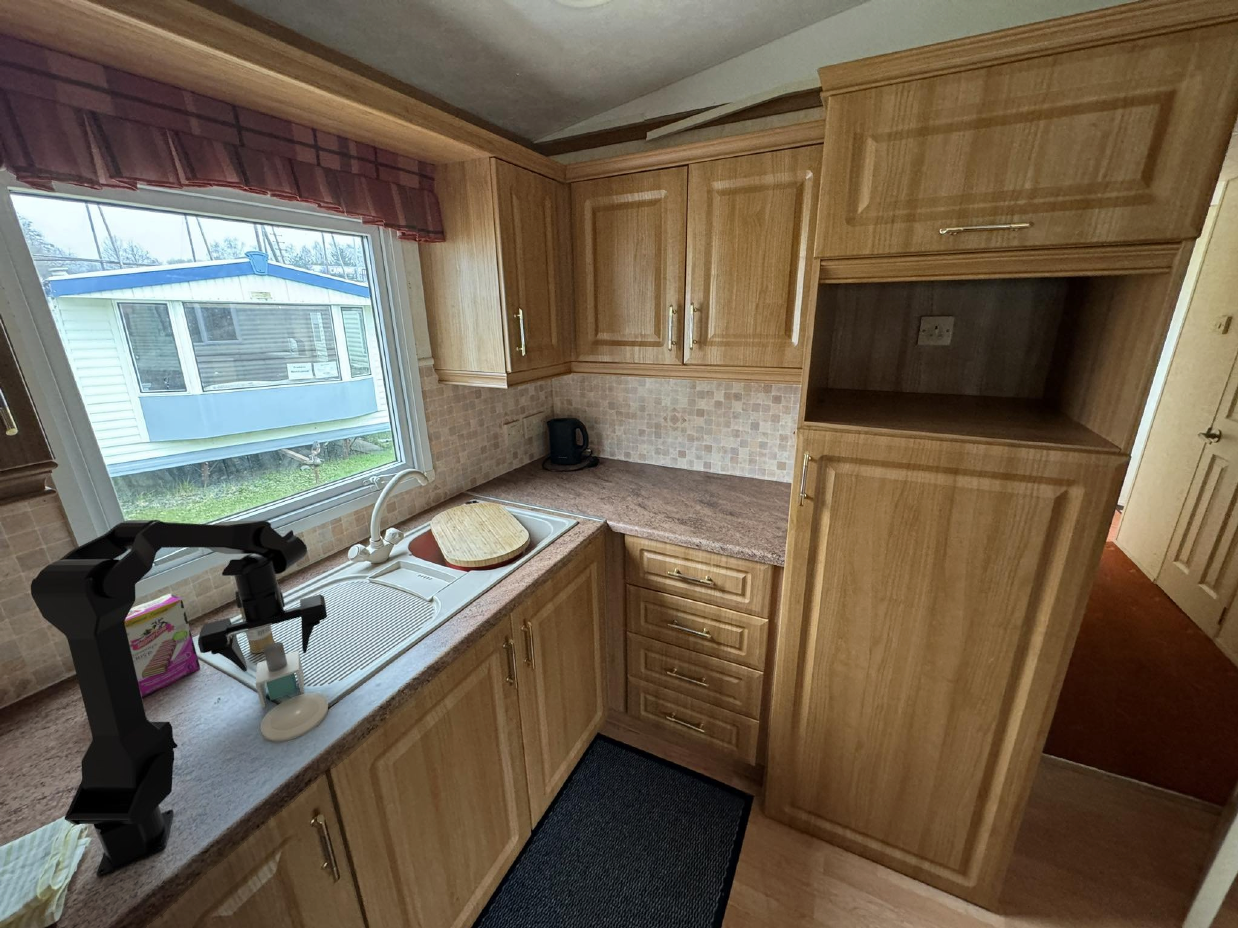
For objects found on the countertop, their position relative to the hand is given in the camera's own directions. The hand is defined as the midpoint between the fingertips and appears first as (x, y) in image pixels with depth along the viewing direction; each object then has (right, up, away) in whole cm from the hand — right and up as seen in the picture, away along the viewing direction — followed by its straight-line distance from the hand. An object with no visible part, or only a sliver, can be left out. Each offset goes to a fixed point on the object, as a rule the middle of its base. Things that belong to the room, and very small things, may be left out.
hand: (276, 660), depth 91 cm
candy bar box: (-25, -6, +4) cm, 27 cm away
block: (0, -6, +2) cm, 7 cm away
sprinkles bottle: (-13, -3, +14) cm, 20 cm away
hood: (0, -6, +2) cm, 7 cm away
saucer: (+7, -8, -5) cm, 12 cm away
